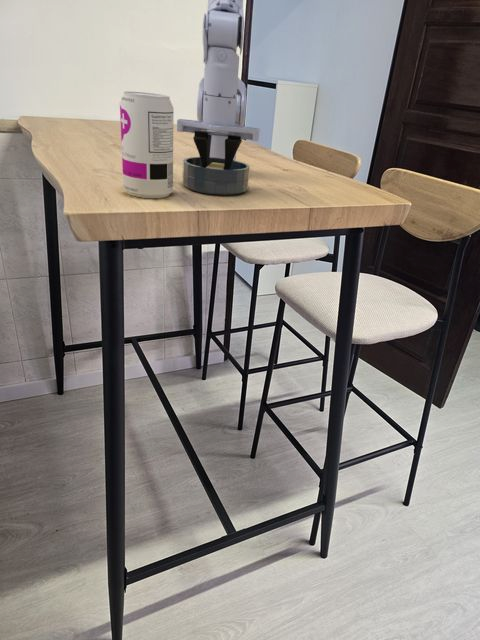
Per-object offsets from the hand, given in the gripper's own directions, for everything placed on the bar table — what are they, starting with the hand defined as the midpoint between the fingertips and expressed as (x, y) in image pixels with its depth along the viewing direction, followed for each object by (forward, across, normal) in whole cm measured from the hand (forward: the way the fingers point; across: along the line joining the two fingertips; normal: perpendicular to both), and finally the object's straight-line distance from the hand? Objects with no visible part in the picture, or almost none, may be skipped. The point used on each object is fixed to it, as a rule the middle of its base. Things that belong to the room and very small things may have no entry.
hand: (215, 178), depth 89 cm
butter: (+1, 0, 0) cm, 1 cm away
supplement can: (+2, -10, -10) cm, 14 cm away
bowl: (+2, 0, 0) cm, 2 cm away
